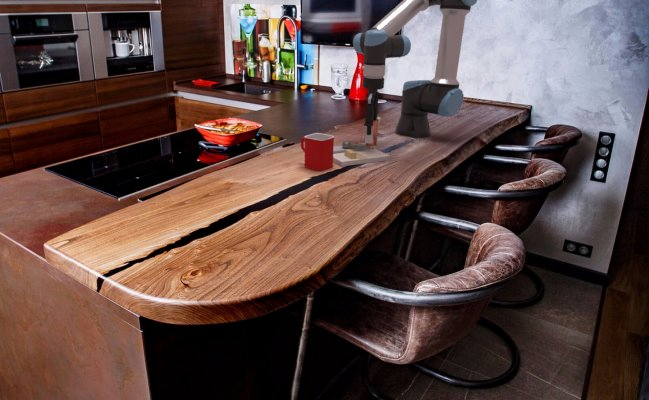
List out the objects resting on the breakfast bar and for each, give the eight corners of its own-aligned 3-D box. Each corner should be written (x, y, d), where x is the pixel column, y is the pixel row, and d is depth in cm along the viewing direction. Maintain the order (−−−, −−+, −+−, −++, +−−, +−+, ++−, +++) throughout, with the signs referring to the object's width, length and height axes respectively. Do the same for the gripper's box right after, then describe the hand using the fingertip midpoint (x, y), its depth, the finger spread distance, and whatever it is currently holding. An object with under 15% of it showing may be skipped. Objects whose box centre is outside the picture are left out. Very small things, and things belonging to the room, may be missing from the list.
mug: (335, 166, 170) (336, 136, 166) (320, 172, 164) (321, 141, 160) (308, 159, 177) (309, 130, 173) (293, 164, 170) (293, 134, 167)
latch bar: (341, 148, 182) (343, 121, 178) (342, 145, 185) (343, 118, 182) (376, 149, 181) (378, 122, 177) (375, 146, 185) (377, 120, 181)
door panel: (374, 152, 187) (375, 143, 186) (389, 159, 179) (390, 149, 177) (328, 158, 178) (328, 148, 177) (341, 166, 170) (342, 155, 169)
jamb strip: (365, 148, 192) (365, 142, 192) (373, 152, 187) (374, 146, 187) (319, 154, 184) (320, 147, 183) (327, 158, 179) (327, 151, 178)
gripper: (367, 72, 182) (364, 134, 190) (358, 80, 165) (355, 146, 174) (387, 73, 180) (383, 135, 189) (380, 81, 164) (376, 148, 173)
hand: (370, 140), depth 182 cm, fingers open, 5 cm apart
